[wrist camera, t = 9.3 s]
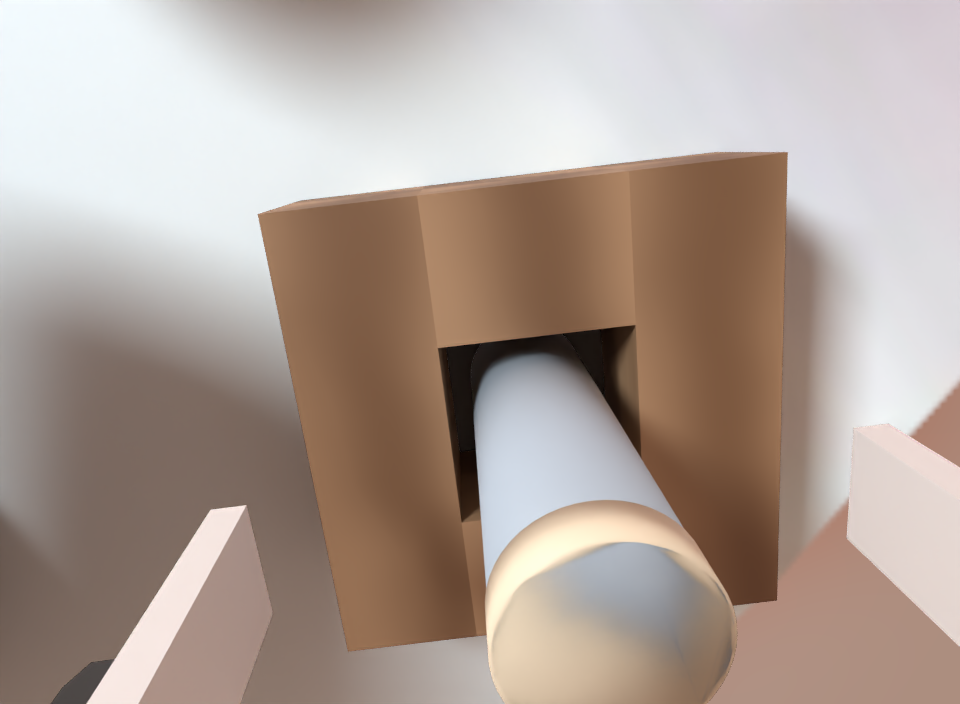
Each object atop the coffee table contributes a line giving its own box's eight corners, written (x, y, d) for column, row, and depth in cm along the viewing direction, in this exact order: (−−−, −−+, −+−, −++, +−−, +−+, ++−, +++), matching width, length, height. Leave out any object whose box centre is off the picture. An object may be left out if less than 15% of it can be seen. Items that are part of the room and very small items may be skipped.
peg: (475, 431, 25) (501, 759, 11) (462, 326, 24) (474, 555, 10) (584, 418, 25) (737, 731, 11) (576, 313, 24) (737, 524, 10)
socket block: (367, 560, 26) (348, 651, 21) (300, 200, 22) (257, 214, 17) (718, 518, 26) (776, 600, 21) (715, 152, 22) (787, 152, 17)
